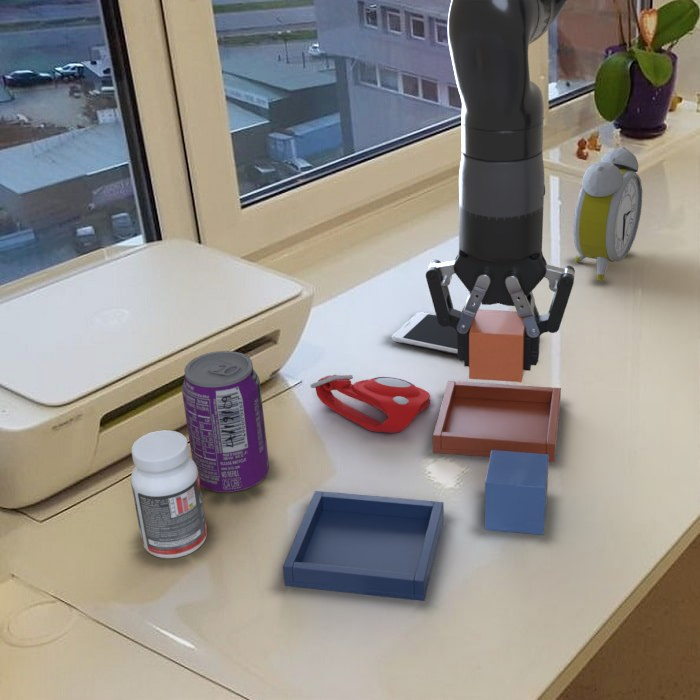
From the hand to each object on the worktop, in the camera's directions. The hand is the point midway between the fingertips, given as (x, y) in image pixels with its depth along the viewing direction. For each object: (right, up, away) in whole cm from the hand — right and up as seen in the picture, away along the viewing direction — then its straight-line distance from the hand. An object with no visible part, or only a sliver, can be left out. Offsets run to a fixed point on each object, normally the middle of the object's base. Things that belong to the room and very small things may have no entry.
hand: (498, 364), depth 103 cm
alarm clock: (+18, +12, +37) cm, 43 cm away
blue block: (0, -13, -9) cm, 16 cm away
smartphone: (-1, +2, +20) cm, 20 cm away
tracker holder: (-12, -5, +8) cm, 15 cm away
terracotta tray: (0, -6, +3) cm, 7 cm away
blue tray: (-13, -16, -13) cm, 24 cm away
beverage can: (-26, -11, -1) cm, 28 cm away
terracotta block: (0, 0, 0) cm, 0 cm away
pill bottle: (-30, -16, -10) cm, 35 cm away
